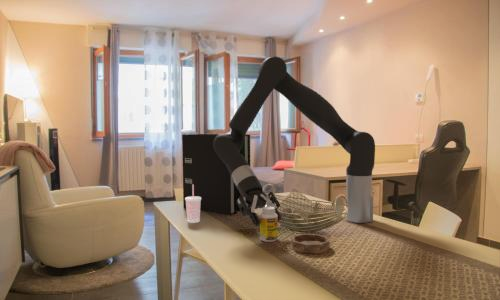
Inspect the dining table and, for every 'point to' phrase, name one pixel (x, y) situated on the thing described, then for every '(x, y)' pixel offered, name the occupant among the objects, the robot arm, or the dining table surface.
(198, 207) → the beverage cup
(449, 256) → the dining table surface
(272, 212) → the supplement bottle
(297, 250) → the collar dish
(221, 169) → the binder
